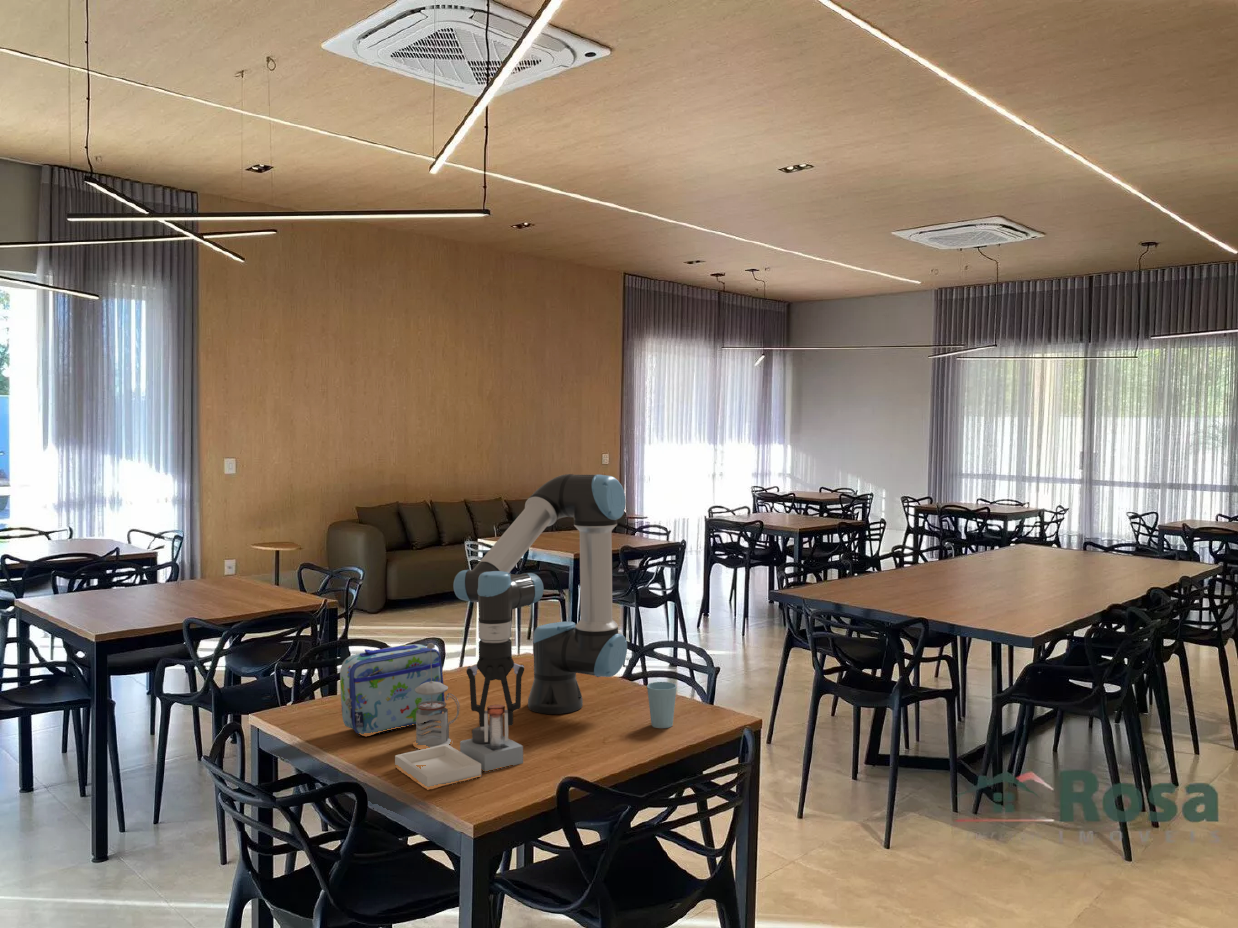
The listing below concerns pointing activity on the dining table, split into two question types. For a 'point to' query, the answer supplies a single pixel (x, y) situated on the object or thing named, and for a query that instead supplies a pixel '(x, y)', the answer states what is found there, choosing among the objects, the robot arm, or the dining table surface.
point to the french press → (425, 708)
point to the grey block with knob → (487, 757)
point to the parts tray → (438, 765)
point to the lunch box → (387, 686)
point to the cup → (661, 703)
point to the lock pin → (496, 726)
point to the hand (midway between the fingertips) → (496, 739)
